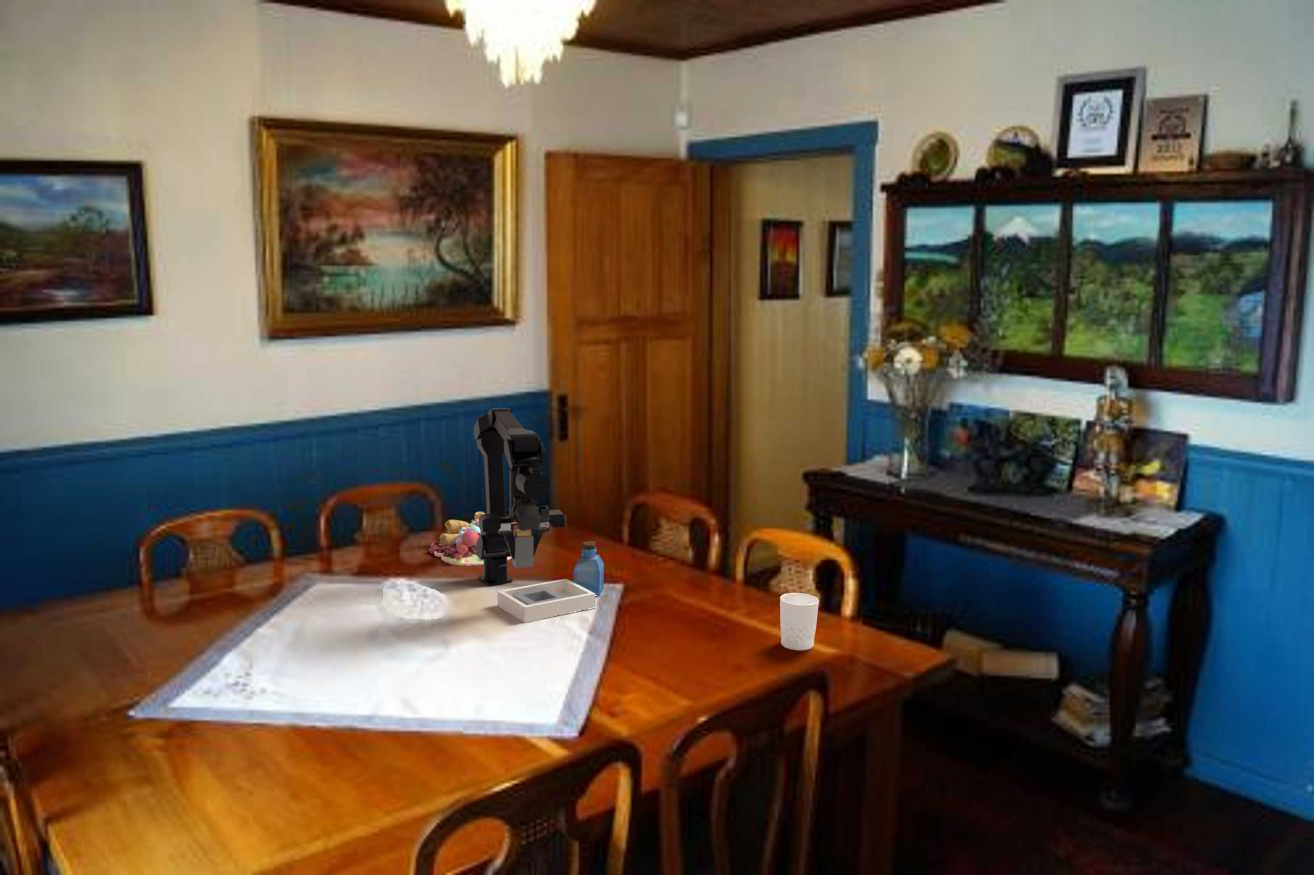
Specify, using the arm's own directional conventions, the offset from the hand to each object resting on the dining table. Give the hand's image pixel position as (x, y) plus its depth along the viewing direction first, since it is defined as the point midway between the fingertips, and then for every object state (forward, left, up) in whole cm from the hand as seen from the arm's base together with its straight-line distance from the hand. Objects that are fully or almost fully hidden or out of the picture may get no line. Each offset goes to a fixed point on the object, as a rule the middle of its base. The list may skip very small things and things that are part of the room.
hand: (522, 558), depth 234 cm
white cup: (+49, +39, -12) cm, 63 cm away
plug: (0, 0, -2) cm, 2 cm away
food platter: (-48, +12, -13) cm, 51 cm away
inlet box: (+1, +6, -12) cm, 13 cm away
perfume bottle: (-3, +20, -12) cm, 23 cm away
